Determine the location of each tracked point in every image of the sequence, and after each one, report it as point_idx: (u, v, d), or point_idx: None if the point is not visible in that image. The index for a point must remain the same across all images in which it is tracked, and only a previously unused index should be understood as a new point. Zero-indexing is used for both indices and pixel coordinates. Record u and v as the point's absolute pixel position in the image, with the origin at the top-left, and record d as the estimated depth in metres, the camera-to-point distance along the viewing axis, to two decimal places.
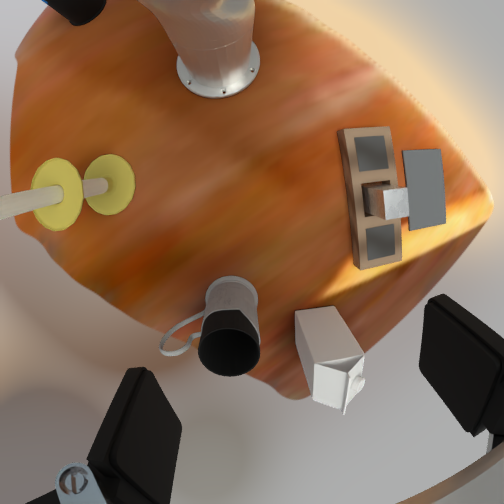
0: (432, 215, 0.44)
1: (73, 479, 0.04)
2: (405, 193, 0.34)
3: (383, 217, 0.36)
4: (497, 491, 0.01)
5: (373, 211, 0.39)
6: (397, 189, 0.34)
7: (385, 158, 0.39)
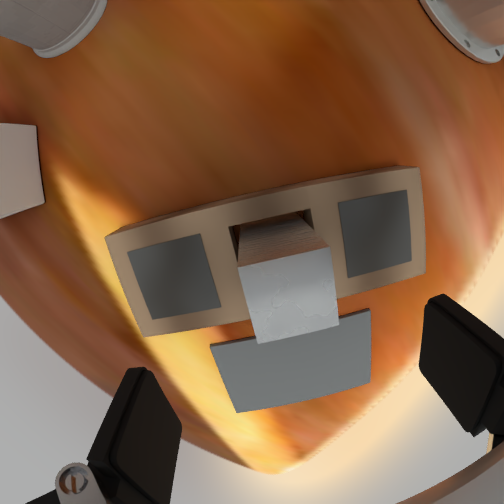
0: (247, 387, 0.25)
1: (73, 479, 0.04)
2: (323, 320, 0.13)
3: (244, 260, 0.13)
4: (497, 491, 0.01)
5: (249, 240, 0.16)
6: (333, 295, 0.13)
7: (368, 267, 0.19)
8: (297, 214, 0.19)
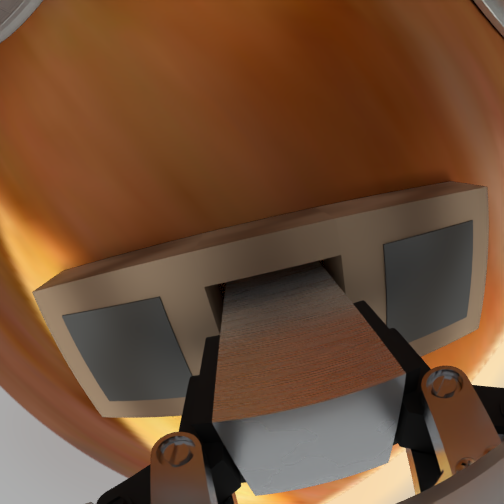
0: None
1: (174, 449, 0.05)
2: (366, 464, 0.06)
3: (227, 397, 0.06)
4: (497, 491, 0.01)
5: (239, 324, 0.08)
6: (390, 435, 0.05)
7: (414, 334, 0.12)
8: None
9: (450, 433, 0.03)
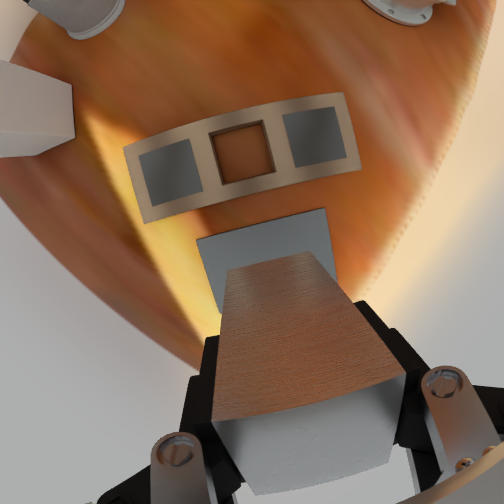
0: None
1: (174, 449, 0.05)
2: (366, 464, 0.06)
3: (227, 397, 0.06)
4: (497, 491, 0.01)
5: (239, 323, 0.08)
6: (390, 434, 0.05)
7: (311, 161, 0.26)
8: (315, 258, 0.12)
9: (450, 433, 0.03)
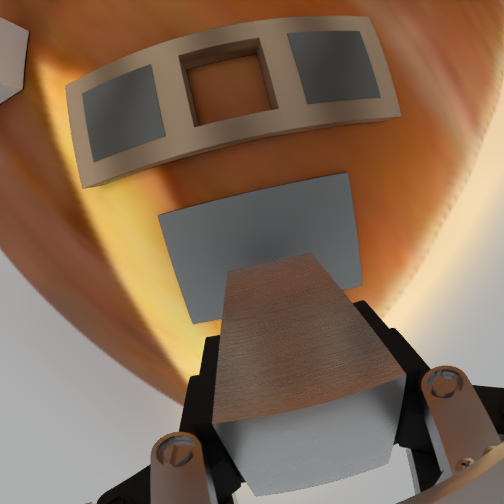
0: (204, 279, 0.21)
1: (174, 449, 0.05)
2: (366, 465, 0.06)
3: (227, 398, 0.05)
4: (497, 491, 0.01)
5: (239, 325, 0.08)
6: (390, 436, 0.05)
7: (330, 96, 0.15)
8: (316, 259, 0.12)
9: (450, 433, 0.03)
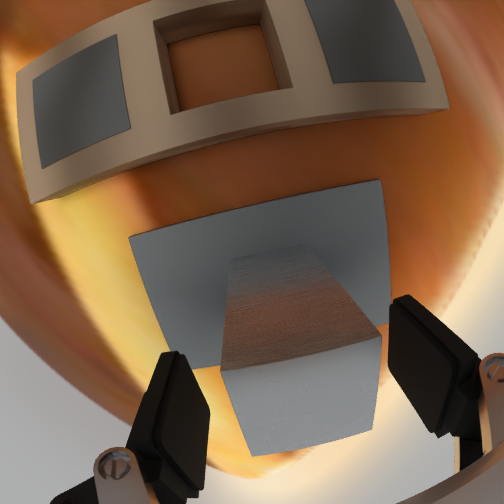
0: (191, 320, 0.16)
1: (114, 464, 0.05)
2: (352, 428, 0.07)
3: (233, 352, 0.07)
4: (497, 491, 0.01)
5: (242, 299, 0.10)
6: (372, 398, 0.07)
7: (363, 75, 0.10)
8: (310, 249, 0.14)
9: (497, 415, 0.03)
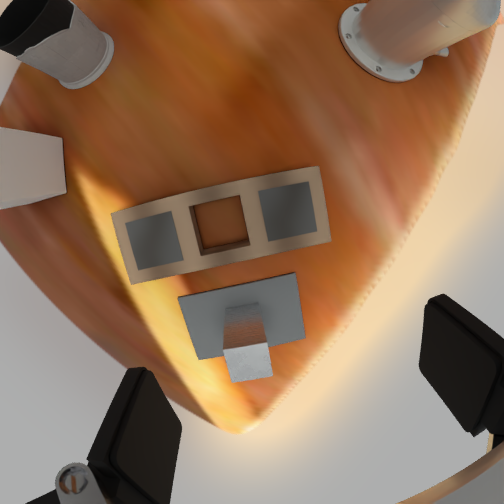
0: (206, 335, 0.34)
1: (73, 479, 0.04)
2: (264, 373, 0.26)
3: (226, 345, 0.25)
4: (497, 491, 0.01)
5: (229, 328, 0.28)
6: (269, 362, 0.25)
7: (283, 235, 0.29)
8: None
9: None
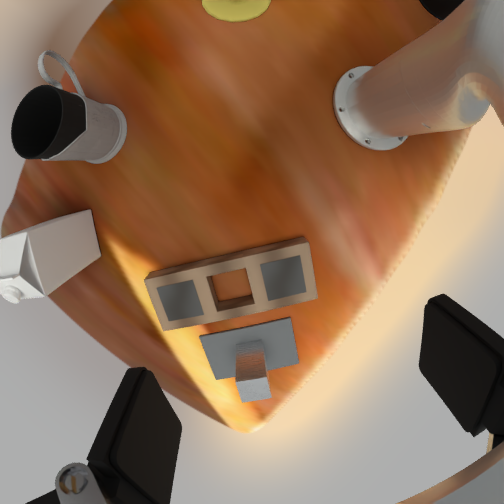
0: (221, 362, 0.43)
1: (73, 479, 0.04)
2: (265, 396, 0.35)
3: (237, 378, 0.34)
4: (497, 491, 0.01)
5: (239, 363, 0.37)
6: (268, 389, 0.34)
7: (279, 295, 0.37)
8: (262, 343, 0.41)
9: None
